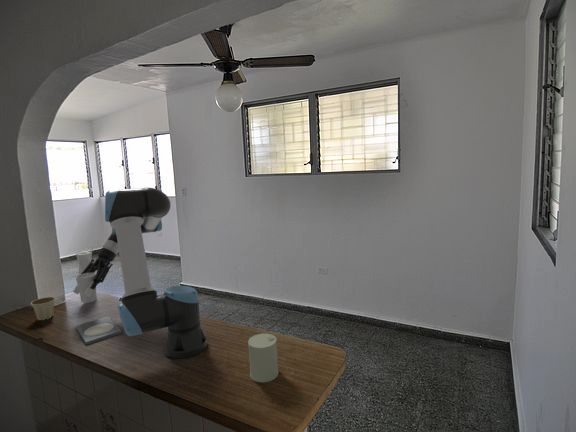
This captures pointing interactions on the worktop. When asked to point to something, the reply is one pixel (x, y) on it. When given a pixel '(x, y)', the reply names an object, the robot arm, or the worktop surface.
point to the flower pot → (43, 307)
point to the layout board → (98, 330)
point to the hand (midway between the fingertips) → (80, 294)
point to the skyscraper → (84, 259)
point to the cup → (86, 286)
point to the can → (263, 357)
